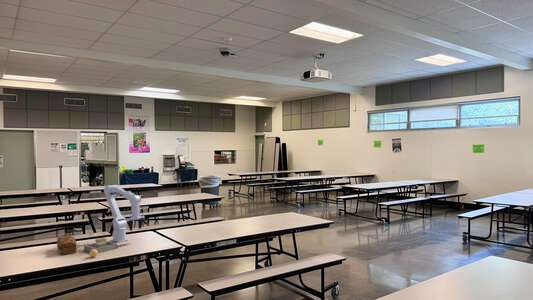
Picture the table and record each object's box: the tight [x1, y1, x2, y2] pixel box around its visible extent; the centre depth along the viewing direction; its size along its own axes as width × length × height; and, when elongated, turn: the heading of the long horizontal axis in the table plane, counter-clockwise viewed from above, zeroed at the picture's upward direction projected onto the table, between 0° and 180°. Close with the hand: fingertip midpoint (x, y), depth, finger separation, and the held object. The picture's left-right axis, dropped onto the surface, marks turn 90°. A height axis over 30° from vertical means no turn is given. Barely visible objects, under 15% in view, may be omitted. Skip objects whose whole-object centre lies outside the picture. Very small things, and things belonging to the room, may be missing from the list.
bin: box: [83, 240, 118, 254], centre depth 244 cm, size 14×16×4 cm
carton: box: [95, 237, 107, 248], centre depth 244 cm, size 5×5×7 cm
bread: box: [56, 234, 78, 256], centre depth 240 cm, size 19×11×10 cm, turn 35°
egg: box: [88, 249, 99, 258], centre depth 227 cm, size 5×5×5 cm
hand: (135, 229), depth 262 cm, fingers open, 7 cm apart
